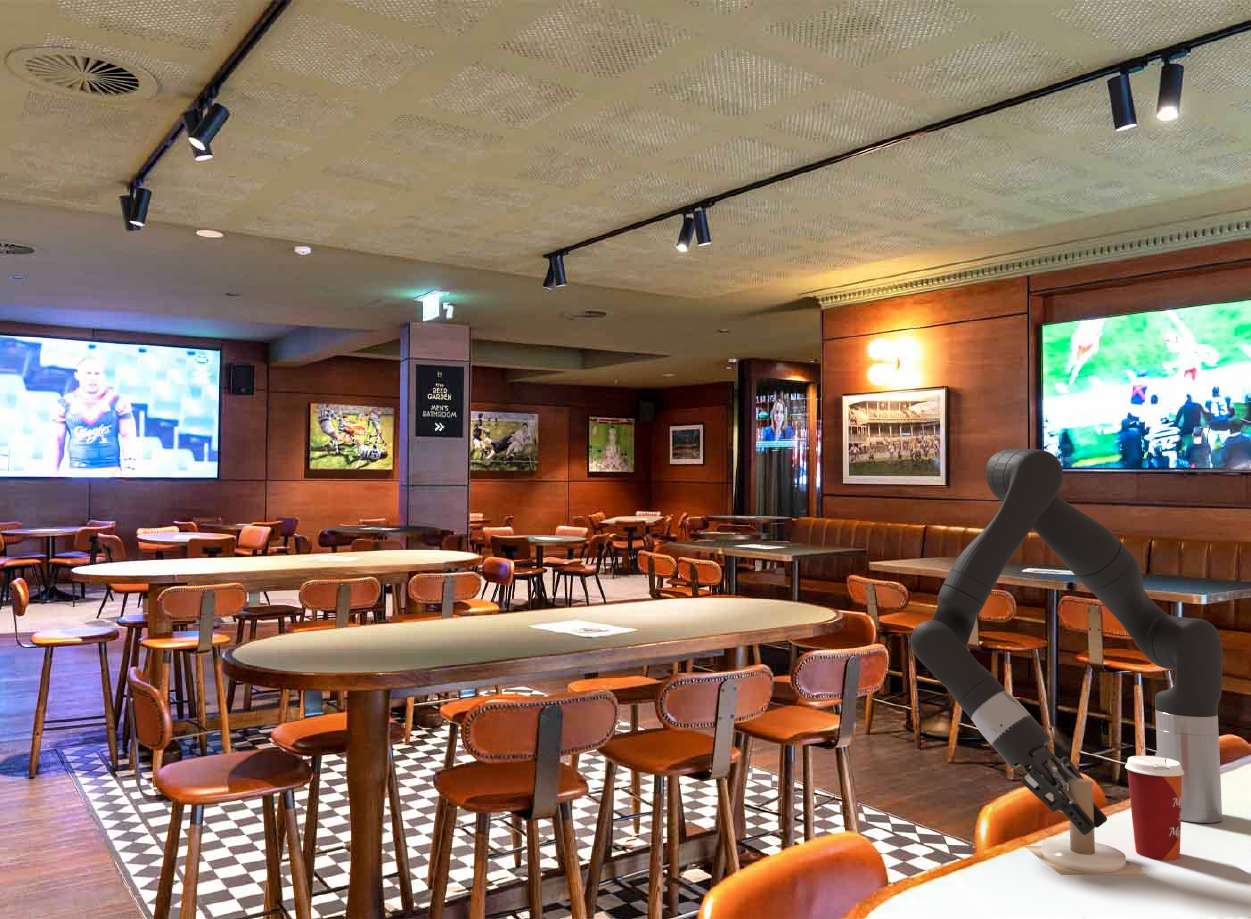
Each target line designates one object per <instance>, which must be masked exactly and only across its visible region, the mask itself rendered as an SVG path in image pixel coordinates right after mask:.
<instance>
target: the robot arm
mask: <svg viewBox="0 0 1251 919" xmlns="http://www.w3.org/2000/svg"><path fill="white" fill-rule="evenodd" d="M985 479H986V483H987V487H988V488H989V490H990V491H991V493H992V494H993V495H994V496H995V498H996V499H997V500H999V501H1000V502H1001V503H1002V504H1001V506H1000V508H999V509H998V511H997V512H996V514H995V515H994V517H993V519H991V521H990V522H989V524H987V526H986V527H985V528H984V529H983V530H982V531H981V532H980V534H978V535H977V536H976V537H975V538H974V539H973V540H972V541H971V542H970V543H969V544H968V545H967V546H966V547H965V549H964V550H962V552H961V553H960V555H959V556H958V557H957V559H956V560H955V562H954V563H953V565H952V567H951V569H950V571H949V572H948V574H947V576H946V578H945V580H944V582H943V584H942V585H941V588H940V590H939V593H938V595H937V607H936V609H935V611H934V613H933V615H932V618H931V619H930V620H925V621H923V622H920V623H919V624H918V625H916V626H915V627H914V629H913V631H912V633H911V636H910V646H911V647H910V648H911V650H912V653H914V655H915V656H916V658H917V659H918V660H919V661H920V662H921V664H923V666H925V668H926V669H927V670H928V671H929V672H930V673H931V674H932V675H933V676H934V677H935V678H936V679H937V681H938V682H940V683H941V684H942V685H943V686H944V687H945V688H946V689H947V691H948V693H950V695H951V697H953V699H954V701H955V702H956V703H957V704H958V705H959V707H960V708H961V709H962V710H963V711H964V713H965V714H966V715H967V716H968V717H969V718H970V720H971V721H972V722H973V723H974V725H975V727H976V728H977V730H978V731H979V733H981V735H982V736H983V738H984V739H985V740H986V741H987V742H988V743H989V744H990V745H991V747H992V748H993V749H994V750H995V751H996V752H997V754H998V755H999V756H1000V757H1001V758H1002V759H1003V761H1005V763H1006V764H1007V765H1008V767H1009V768H1010V769H1017V768H1020V767H1022V769H1023V771H1024V773H1025V776H1024V777H1022V778H1021V779H1020V782H1021V783H1022V784H1023V785H1024V787H1026V788H1027V790H1029V791H1030V792H1031V793H1032V794H1033V795H1035V797H1036V798H1037V799H1039V801H1041V802H1042V803H1043V804H1044V805H1045V806H1046V807H1047V808H1048V809H1049V810H1051V812H1054V813H1055V812H1056V811H1058V812H1059V813H1060V814H1064V815H1065V816H1066V817H1067V819H1068V820H1069V819H1070V820H1069V822H1070V821H1071V822H1072V823H1073V824H1074V825H1075V826H1076V827H1077V829H1078V830H1079V831H1080V832H1081V833H1082V834H1083V835H1086V834H1088V833H1089V832H1090V831H1092V830H1093V829H1094V830H1095V828H1100V827H1101V826H1102V825H1103V824H1104V823H1106V822H1107V820H1108V817H1107V816H1106V814H1105V813H1104V812H1103V811H1102V809H1100V808H1099V807H1098V806H1097V805H1096V803H1095V802H1094V801H1093V807H1094V822H1093V821H1092V820H1091V819H1090V818H1089V817H1088V815H1087V814H1086V813H1085V812H1084V811H1083V810H1082V809H1081V807H1080V806H1079V805H1078V804H1075V801H1074V799H1073V798H1072V796H1071V795H1070V794H1069V788H1068V780H1069V779H1084V777H1083V776H1082V774H1081V773H1080V772H1079V770H1078V768H1077V767H1076V766H1075V765H1074V764H1073V762H1072V760H1071V759H1070V757H1068V756H1066V755H1064V756H1063V757H1061V758H1059V757H1058V756H1056V755H1055V754H1054V752H1053V753H1052V751H1051V750H1050V749H1048V746H1047V745H1049V744H1050V742H1051V740H1052V738H1051V736H1050V734H1048V733H1047V731H1046V730H1045V729H1044V728H1043V727H1042V726H1041V725H1040V724H1039V723H1038V721H1037V720H1036V718H1034V717H1033V716H1032V714H1031V713H1029V711H1028V710H1027V709H1026V708H1025V707H1024V706H1023V705H1022V704H1021V702H1020V701H1019V700H1018V699H1016V698H1015V697H1014V696H1013V695H1012V694H1010V692H1008V690H1007V689H1006V688H1005V687H1004V686H1003V685H1002V684H1001V683H1000V682H999V680H997V678H996V677H995V676H994V675H993V674H992V673H991V671H989V670H988V669H987V668H986V667H985V666H984V665H982V664H981V663H980V662H979V661H978V660H977V659H976V658H975V657H974V655H973V654H972V653H971V651H970V650H968V648H967V645H968V643H969V641H970V639H971V635H972V632H973V630H974V627H975V624H976V621H977V618H978V616H979V614H980V613H981V611H982V610H983V609H984V605H985V604H986V602H987V601H988V598H989V596H990V594H991V593H992V591H993V590H994V587H995V585H996V583H997V581H998V579H999V578H1000V576H1001V574H1002V572H1003V571H1004V569H1005V567H1006V565H1007V564H1008V562H1009V561H1010V559H1011V557H1012V556H1013V555H1014V553H1015V552H1016V550H1017V549H1018V548H1019V546H1021V544H1022V543H1023V541H1024V539H1025V538H1026V536H1028V534H1029V533H1030V532H1031V530H1033V531H1034V532H1035V533H1036V534H1037V535H1038V536H1039V537H1040V538H1041V540H1042V541H1044V543H1045V544H1046V545H1047V546H1048V548H1050V550H1051V551H1052V552H1053V553H1054V554H1055V555H1056V556H1057V557H1058V558H1059V560H1061V561H1062V562H1063V563H1064V565H1065V566H1066V567H1067V568H1068V569H1069V571H1070V572H1071V573H1072V574H1073V575H1074V576H1075V577H1076V578H1077V579H1078V580H1079V581H1080V582H1081V583H1082V584H1083V586H1085V587H1086V588H1087V589H1088V590H1089V591H1090V592H1091V593H1092V594H1093V595H1094V596H1095V597H1096V599H1098V600H1099V601H1100V602H1101V604H1102V605H1103V606H1104V607H1105V608H1106V609H1107V610H1108V611H1109V613H1111V614H1112V615H1113V617H1114V618H1115V619H1116V620H1117V621H1118V622H1119V623H1120V624H1121V626H1122V627H1123V629H1124V630H1125V631H1126V632H1127V633H1128V635H1129V636H1130V637H1131V639H1132V640H1133V642H1134V643H1135V645H1136V646H1137V647H1138V649H1139V650H1140V652H1141V653H1142V654H1143V655H1144V656H1145V658H1147V659H1148V660H1149V662H1151V663H1153V665H1156V666H1157V667H1160V668H1162V669H1166V670H1171V671H1172V670H1173V671H1175V673H1176V674H1175V682H1174V685H1173V686H1172V687H1170V688H1168V689H1164V690H1161V691H1158V692H1157V693H1155V696H1154V706H1155V707H1154V708H1155V711H1154V712H1155V728H1156V729H1155V730H1156V731H1155V732H1156V733H1155V734H1156V735H1155V736H1156V752H1155V755H1154V756H1155V757H1162V758H1168V759H1172V760H1175V761H1178V762H1179V763H1180V764H1181V769H1182V770H1183V771H1184V774H1183V775H1182V792H1181V821H1185V822H1192V823H1201V824H1202V823H1206V824H1207V823H1208V824H1210V823H1211V824H1213V823H1218V822H1221V821H1223V806H1222V781H1221V779H1222V778H1221V777H1222V776H1221V760H1220V754H1221V753H1220V736H1219V716H1218V714H1219V713H1218V711H1219V710H1218V709H1219V708H1218V707H1219V704H1220V701H1221V697H1222V693H1223V646H1222V645H1223V644H1222V640H1221V636H1220V632H1218V629H1217V628H1216V627H1215V625H1214V624H1212V623H1211V622H1209V621H1208V620H1205V619H1200V618H1195V617H1194V618H1193V617H1183V616H1174V615H1170V614H1168V613H1167V612H1165V611H1164V610H1163V609H1162V608H1161V607H1160V606H1158V605H1157V604H1156V602H1155V601H1154V600H1153V599H1152V598H1150V596H1149V595H1148V594H1147V592H1146V591H1145V589H1144V581H1143V574H1142V569H1141V566H1140V564H1139V562H1138V560H1137V558H1136V556H1135V555H1134V554H1133V553H1132V552H1131V550H1129V549H1128V548H1127V547H1126V545H1125V544H1124V543H1123V542H1122V541H1121V540H1120V539H1119V538H1118V536H1117V535H1115V534H1114V533H1113V532H1112V530H1110V529H1108V528H1107V527H1105V526H1104V525H1103V524H1102V523H1100V522H1099V521H1097V520H1095V518H1092V517H1091V516H1089V515H1088V514H1086V513H1085V512H1083V511H1081V510H1079V509H1077V508H1076V507H1074V506H1073V505H1072V504H1070V503H1069V502H1067V501H1066V500H1065V499H1063V498H1062V497H1061V496H1060V495H1059V494H1058V493H1059V492H1060V489H1061V487H1062V485H1063V480H1064V471H1063V466H1062V464H1061V462H1060V459H1058V458H1057V456H1055V455H1054V454H1053V453H1051V452H1050V451H1047V450H1044V449H1043V450H1042V449H1038V448H1037V449H1036V448H1035V449H1034V448H1008V449H1003V450H1000V451H997V452H996V453H994V454H993V455H992V456H991V457H990V458H989V459H988V461H987V464H986V467H985ZM1074 804H1075V805H1074Z"/></svg>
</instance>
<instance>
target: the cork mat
mask: <svg viewBox="0 0 1251 919" xmlns="http://www.w3.org/2000/svg"><path fill="white" fill-rule="evenodd" d="M1023 847H1024V848H1025V849H1027V850H1028V851H1029V852H1030V853H1032V854H1033V855H1034V856H1036V858H1039V860H1041V861H1042V862H1044V863H1045V864H1046V865H1047V866H1049V867H1050V868H1051V869H1053V870H1054V871H1055V872H1056V873H1058V874H1059V875H1061V876H1062V875H1063V876H1064V875H1065V876H1071V875H1073V876H1075V875H1077V876H1080V875H1081V876H1083V875H1084V876H1088V875H1090V876H1091V875H1092V876H1093V875H1094V876H1099V875H1100V876H1101V875H1102V876H1107V875H1108V876H1114V875H1115V876H1148V875H1149V874H1148V873H1146V872H1144V871H1143V870H1142V869H1139V867H1136V866H1135V865H1133V864H1132V863H1130V862H1128V861H1127V860H1126V868H1125V869H1124V870H1122V871H1118V872H1113V873H1091V872H1082V871H1076V870H1071V869H1067V868H1063V867H1060V866H1057V865H1054V864H1052V863H1050V862H1048V861H1046V860H1045V859H1044V858H1043V857H1042V855H1041V845H1023Z"/></svg>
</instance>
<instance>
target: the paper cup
mask: <svg viewBox="0 0 1251 919" xmlns="http://www.w3.org/2000/svg"><path fill="white" fill-rule="evenodd" d="M1124 768H1125V769H1126V770H1127V779H1128V789H1129V790H1128V791H1129V798H1130V809H1131V810H1130V811H1131V820H1132V829H1133V830H1132V832H1133V838H1134V839H1133V842H1134V847H1135V849H1134V850H1135V852H1136V854H1138V855H1139V856H1141V857H1144V858H1148V859H1152V860H1155V861H1156V860H1158V861H1163V862H1164V861H1167V862H1168V861H1170V862H1173V861H1177V860H1179V859H1180V857H1181V834H1182V833H1181V829H1182V828H1181V827H1182V826H1181V825H1182V820H1181V792H1182V775H1183V774H1184V771H1183V770H1182V769H1181V764H1180V763H1179V762H1178V761H1175V760H1172V759H1168V758H1162V757H1155V755H1154V756H1153V755H1132V756H1129V757H1128V758H1127V763H1126V764H1125V766H1124Z"/></svg>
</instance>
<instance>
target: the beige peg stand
mask: <svg viewBox="0 0 1251 919" xmlns="http://www.w3.org/2000/svg"><path fill="white" fill-rule="evenodd" d="M1068 788H1069V794H1070V795H1071V796H1072V798H1073V799H1074V801H1075V804H1078V805H1079V806H1080V807H1081V809H1082V810H1083V811H1084V812H1085V813H1086V814H1087V815H1088V817H1089V818H1090V819H1091V820H1092V821H1093V822H1094V807H1093V802H1094V783H1093V781H1092V780H1089V779H1085V778H1083V779H1069V780H1068ZM1075 804H1074V805H1075ZM1068 820H1069V838H1055V839H1050V840H1046V841H1043V842H1042V843H1041V845H1040V846H1041V855H1042V857H1043V858H1044V859H1045V860H1046V861H1048V862H1050V863H1052V864H1054V865H1057V866H1060V867H1063V868H1067V869H1071V870H1076V871H1082V872H1091V873H1113V872H1118V871H1122V870H1124V869H1125V868H1126V861H1127V855H1126V854H1125V853H1124V852H1123V851H1121V850H1119V849H1118V848H1116V847H1113V846H1110V845H1107V844H1103V843H1101V842H1097V841H1095V840H1096V839H1095V828H1094V829H1093V830H1092V831H1090V832H1089V833H1088V834H1086V835H1083V834H1082V833H1081V832H1080V831H1079V830H1078V829H1077V827H1076V826H1075V825H1074V824H1073V823H1072V822H1071V821H1070V819H1069V818H1068Z"/></svg>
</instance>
